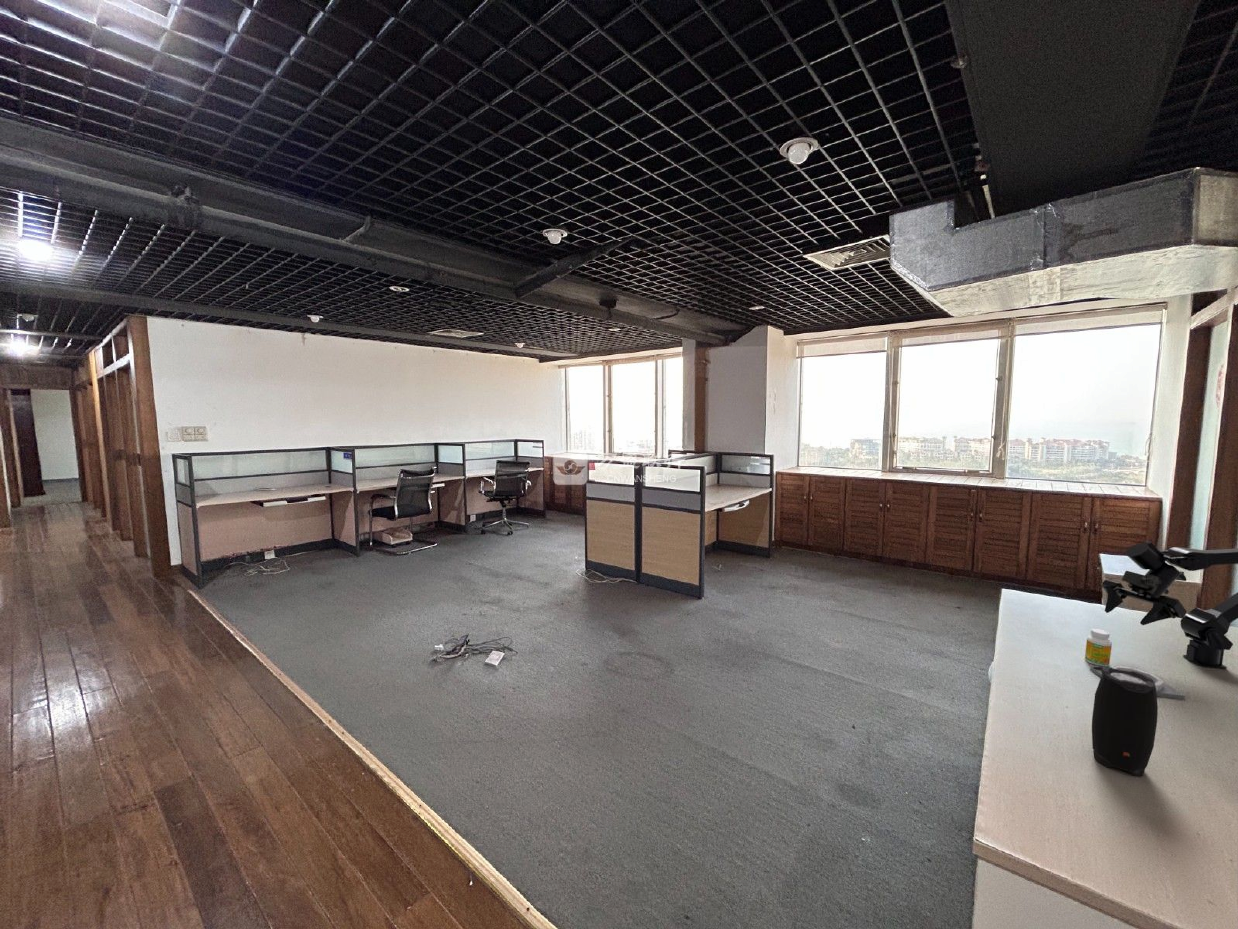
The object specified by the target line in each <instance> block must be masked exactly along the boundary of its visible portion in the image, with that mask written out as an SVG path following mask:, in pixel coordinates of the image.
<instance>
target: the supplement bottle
mask: <svg viewBox="0 0 1238 929" xmlns="http://www.w3.org/2000/svg"><path fill="white" fill-rule="evenodd" d="M1090 634H1091V635H1090ZM1090 634H1089V635H1088V636H1087V638H1086V645H1085V654H1084V660H1085V661H1086V662H1087V663H1089V664H1091V665H1094V664H1095V665H1094V666H1100V667H1110V663H1111V654H1112V645H1113V644H1112V641H1111V640H1110V639H1109V638H1110V635H1111V634H1110V632H1108V631H1106V630H1105V629H1104V630H1103V629H1099V628H1091V629H1090Z"/></svg>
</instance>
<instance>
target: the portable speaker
mask: <svg viewBox="0 0 1238 929" xmlns="http://www.w3.org/2000/svg"><path fill="white" fill-rule="evenodd" d="M1111 667H1112V666H1111ZM1111 667H1110V666H1103V667H1102V668H1103V670H1102V676H1101V677H1100V679H1099V682H1098V684H1097V687H1096V690H1095V693H1094V700H1093V707H1092V717H1091V741H1092V743H1091V744H1092V750H1093V752H1092V753H1093V758H1094V759H1095V760H1096V761H1097V763H1099V764H1101V765H1102V766H1105V767H1106V769H1107V768H1108V769H1110V768H1112V767H1113V768H1117V769H1119V770H1123V771H1126V772H1129V773H1130V775H1132V776H1133V777H1143V775H1144V774H1145V771H1146V768H1147V767H1148V764H1149V761H1150V758H1151V756H1152V753H1153V750H1154V745H1155V741H1156V740H1155V739H1156V734H1157V733H1156V732H1157V724H1158V713H1159V711H1158V710H1159V708H1158V707H1159V706H1158V699H1157V698H1158V696H1157V694H1156V687H1155V683H1154V681H1153V679H1151V678H1150V677H1148V676H1146V675H1145V674H1142V673H1139V672H1136V671H1125V670H1119V669H1114V668H1111Z"/></svg>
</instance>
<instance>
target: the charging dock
mask: <svg viewBox="0 0 1238 929" xmlns="http://www.w3.org/2000/svg"><path fill="white" fill-rule="evenodd" d="M1089 668H1090V669H1089V671H1091V672H1092V671H1093V672H1092V673H1094V674H1095V675H1097V676H1098V677H1099V678H1101V676H1102V670H1103V668H1104V667H1103V666H1098V665H1093V666H1090V667H1089ZM1111 668H1114V669H1119V670H1125V671H1136V672H1139V673H1142V674H1145V675H1146V676H1148V677H1150V678H1151V679H1153V681H1154V683H1155V687H1156V694H1157V697H1162V698H1163V697H1164V698H1168V699H1177V698H1179V699H1178V700H1186V695H1185V694H1184V693H1182V692H1181V691H1178V690H1177V689H1176V688H1173V687H1172V686H1171V685H1169V684H1167V683H1166V682H1165V681H1164V680H1162V679H1161V678H1159V677H1158V676H1156V675H1155V674H1152V673H1150V672H1146V671H1143V670H1141V669H1138V668H1134V667H1129V666H1123V665H1122V666H1121V665H1119V666H1118V665H1112V666H1111Z"/></svg>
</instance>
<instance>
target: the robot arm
mask: <svg viewBox="0 0 1238 929" xmlns="http://www.w3.org/2000/svg"><path fill="white" fill-rule="evenodd" d="M1125 555H1126V556H1127V557H1128V558H1129V559H1130V560H1131V561H1132V562H1133V563H1135V565H1137V566H1138V567H1139V568H1140V569H1141V570H1148V571H1147V572H1146V573H1145V574H1140V573H1138V572H1133V571H1129V570H1125V572H1124V573H1123V575H1122V577H1121V581H1123V582H1125V583H1128V584H1127V586H1128V588H1129V589H1127V588H1125V587H1124V585H1123V584H1122V583H1121V582H1119V581H1115V580H1111V579H1104V580H1103V581H1102V582H1101V583H1100V586H1101V587H1102V589H1104V591H1105V593H1107V599H1106V603H1105V609H1104V612H1105V613H1106V614H1109V613H1110V612H1112V611H1113V610H1115V609H1116V608H1117V607H1118V606H1119V605H1121V604H1122V603H1123V602H1124V600H1125V599H1126V598H1127V597H1129V598H1133V599H1136V600H1140V601H1142V602H1146V603H1148V604H1152V608H1151V609H1150V610H1149V611H1148V612H1147V613H1146V614H1145V615H1144V616H1143V618H1142V619H1141V621H1140V622H1139V623H1140V625H1141V626H1146V625H1149V624H1151V623H1155V622H1159V621H1163V620H1168V619H1176V618H1179V619H1180V620H1179V621H1180V628H1181V629H1182V631H1183V634H1184V636H1185V637H1186V638H1189V641H1188V644H1187V645H1186V653H1185V654H1182V657H1183V658H1185V659H1187V660H1189V661H1191V662H1192V663H1194V664H1196V665H1198V666H1201V667H1209V668H1216V667H1221V668H1220V669H1225V668H1227V669H1228V666H1226V665H1224V664H1223V663H1224V662H1223V661H1224V652H1225V650H1226V651H1230V650H1231V649H1232V647H1233V645H1234V643H1233V642H1232V641H1231V640H1230V639H1229V638H1228V637H1227V636H1225V635H1226V634H1227V633H1228V632H1229V628H1230V625H1231V623H1232V622H1235V621H1236V620H1238V591H1237V592H1235V593H1234V594H1233V595H1231V596H1230V597H1228V598H1227V599H1224V600H1223V601H1221V602H1220V603H1219V604H1217V605H1215V606H1214V607H1212V608H1210V609H1206V610H1205V609H1201V608H1199V607H1194V608H1193V609H1192V610H1191V611H1189V612H1187V609H1186V608H1185V606H1184V605H1183V604H1182V603H1181V601H1180V600H1179V599H1178V598H1176V597H1175V598H1174V597H1172V596H1167V595H1168V594H1169V593H1170V591H1169V590H1168V589H1169V588H1170V587H1171V586H1172V584H1173V583H1174V582H1175V581H1181V582H1186V581H1187V577H1186V576H1185V572H1184V571H1180V570H1179V569H1183V570H1186V571H1188V572H1189V571H1190V572H1197V571H1200V570H1205V569H1209V568H1210V567H1212V566H1213V567H1214V566H1220V565H1221V566H1222V565H1238V548H1221V549H1205V550H1204V549H1198V548H1197V549H1196V548H1189V547H1180V546H1175V547H1170V548H1168V549H1167V550H1159V549H1158V548H1157V547H1156V545H1154V543H1152V542H1151V541H1143V543H1137V544H1134V545H1131V546H1129V547H1127V549H1126V550H1125ZM1177 568H1179V569H1177Z"/></svg>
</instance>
